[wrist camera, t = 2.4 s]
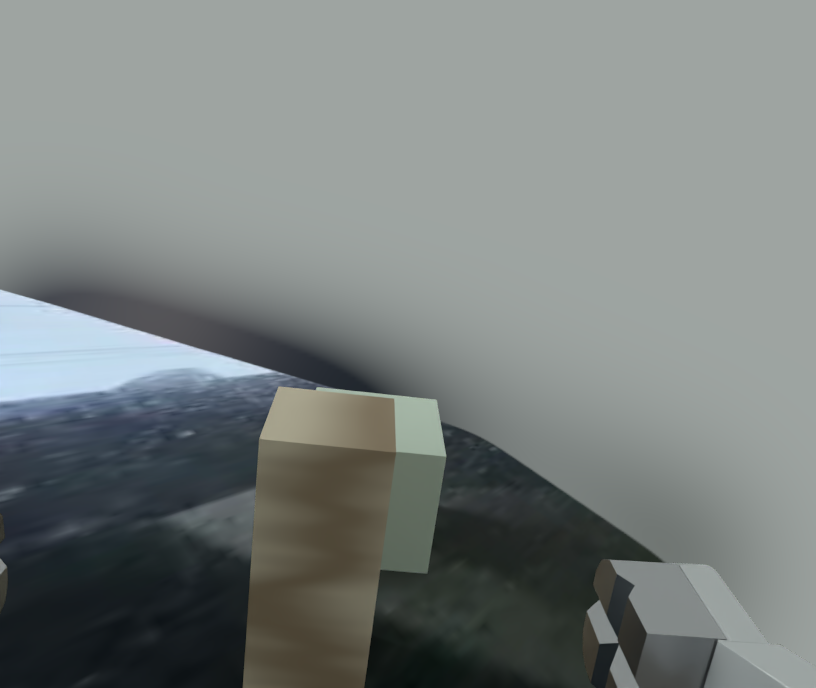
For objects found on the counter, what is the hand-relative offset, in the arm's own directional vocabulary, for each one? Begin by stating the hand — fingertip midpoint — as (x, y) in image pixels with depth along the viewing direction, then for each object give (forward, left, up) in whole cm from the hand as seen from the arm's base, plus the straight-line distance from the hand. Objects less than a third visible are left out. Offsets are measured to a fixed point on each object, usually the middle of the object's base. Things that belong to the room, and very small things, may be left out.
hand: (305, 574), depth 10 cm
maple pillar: (-10, +7, -13) cm, 18 cm away
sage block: (-17, +13, -13) cm, 25 cm away
